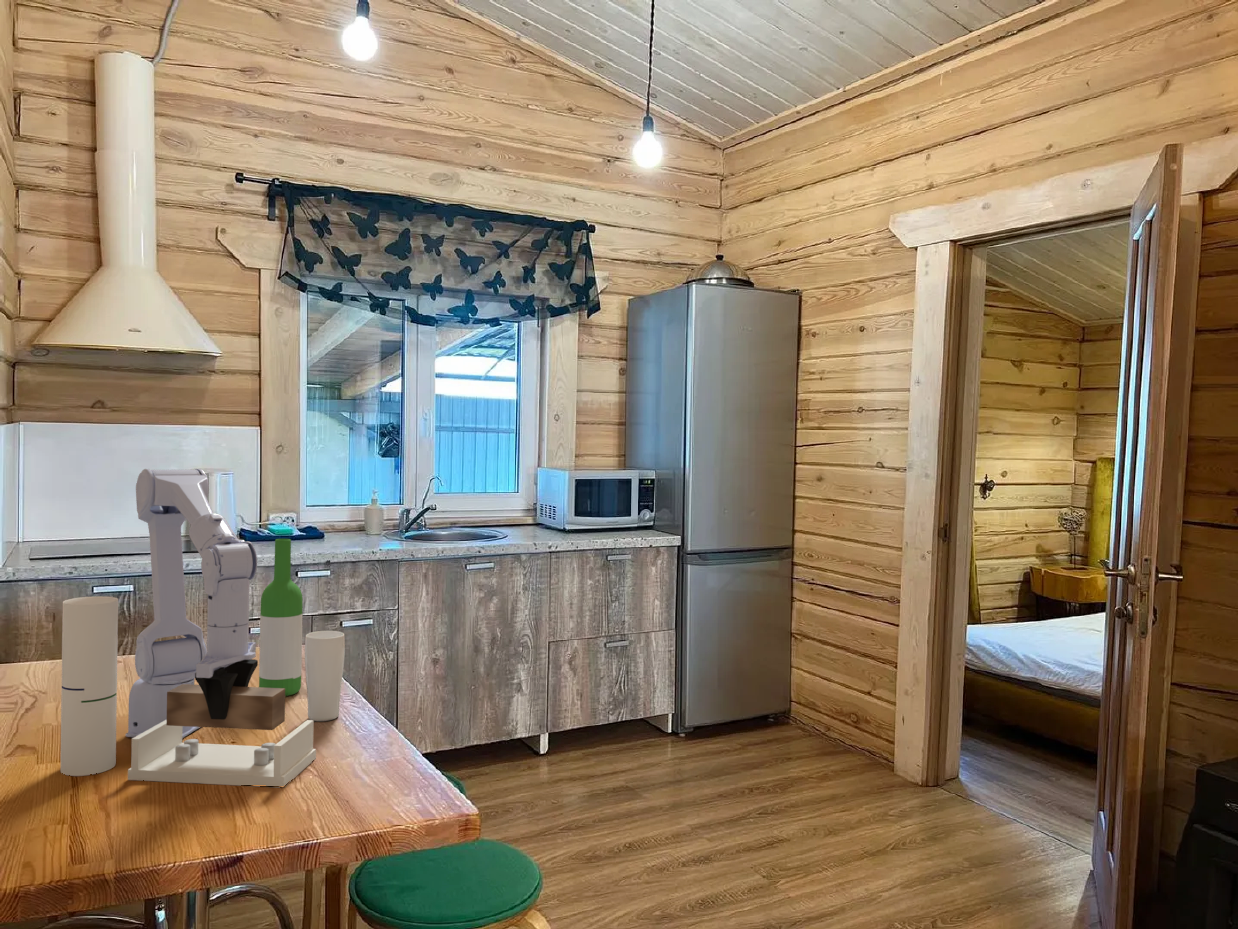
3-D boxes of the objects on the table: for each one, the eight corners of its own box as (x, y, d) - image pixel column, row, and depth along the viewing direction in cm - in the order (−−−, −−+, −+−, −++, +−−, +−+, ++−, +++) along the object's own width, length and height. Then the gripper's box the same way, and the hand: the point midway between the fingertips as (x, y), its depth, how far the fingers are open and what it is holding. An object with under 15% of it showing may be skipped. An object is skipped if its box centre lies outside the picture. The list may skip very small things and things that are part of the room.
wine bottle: (252, 691, 177) (255, 538, 177) (291, 685, 183) (294, 536, 182) (267, 700, 172) (270, 542, 171) (307, 694, 177) (310, 540, 176)
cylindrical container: (75, 758, 139) (77, 596, 138) (124, 758, 140) (126, 596, 139) (50, 776, 132) (52, 604, 131) (101, 776, 133) (104, 605, 132)
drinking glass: (331, 725, 158) (332, 639, 158) (295, 721, 160) (297, 637, 159) (350, 714, 165) (351, 631, 165) (316, 710, 166) (317, 629, 166)
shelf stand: (127, 779, 131) (128, 738, 131) (172, 751, 143) (173, 713, 143) (283, 787, 130) (284, 746, 130) (315, 758, 142) (316, 720, 142)
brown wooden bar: (166, 725, 135) (167, 692, 135) (182, 716, 139) (182, 684, 139) (272, 730, 134) (272, 696, 134) (284, 721, 138) (285, 688, 138)
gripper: (231, 634, 129) (229, 730, 129) (275, 615, 143) (273, 701, 144) (182, 632, 129) (181, 727, 129) (231, 613, 144) (229, 699, 144)
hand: (226, 713), depth 137 cm, fingers closed on brown wooden bar, 4 cm apart
